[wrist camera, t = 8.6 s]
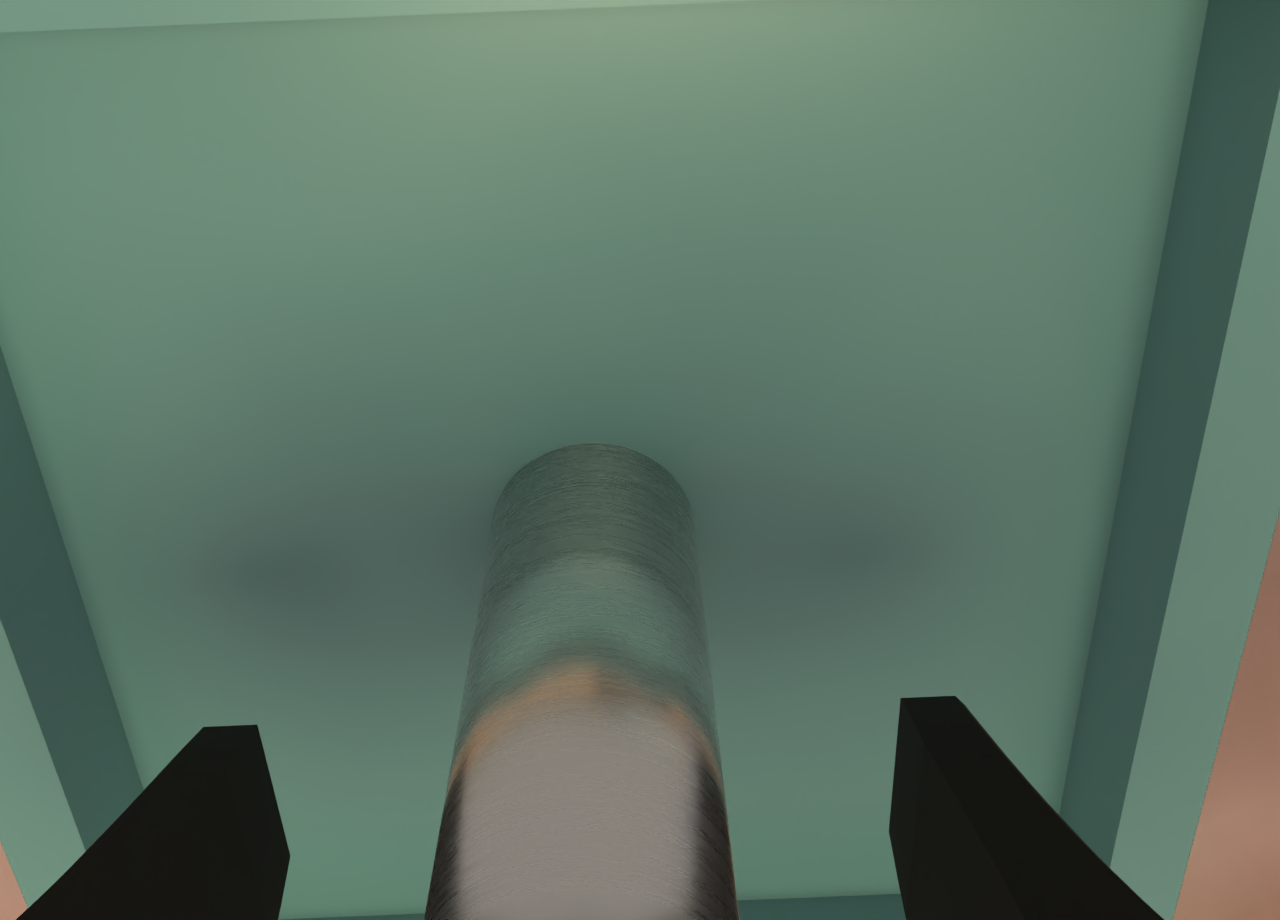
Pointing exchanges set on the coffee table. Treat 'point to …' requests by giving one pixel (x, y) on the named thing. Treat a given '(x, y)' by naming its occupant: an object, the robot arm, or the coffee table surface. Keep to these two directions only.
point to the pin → (587, 709)
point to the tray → (635, 396)
